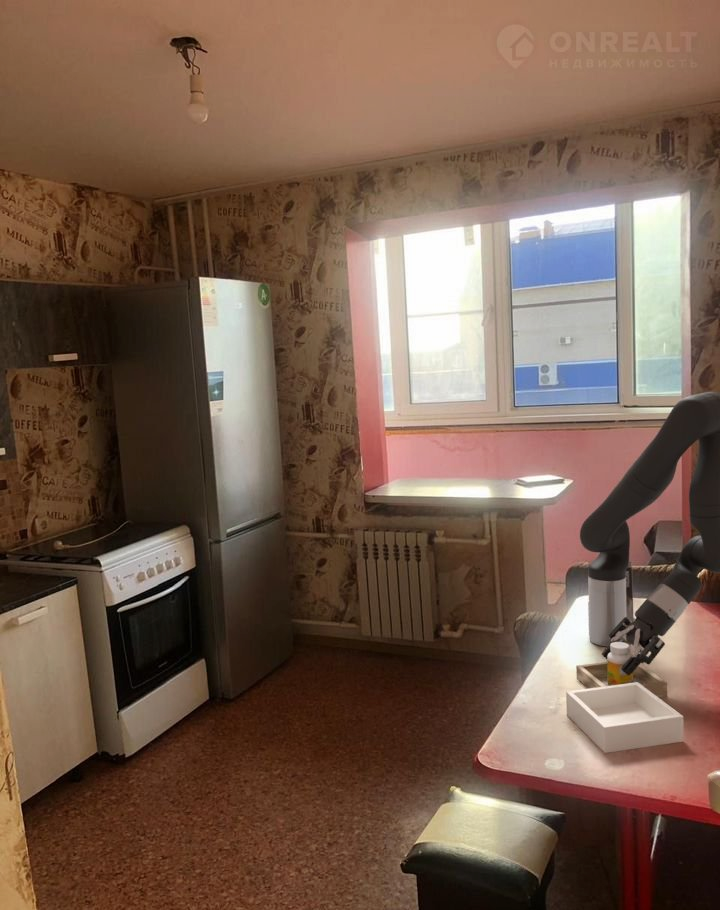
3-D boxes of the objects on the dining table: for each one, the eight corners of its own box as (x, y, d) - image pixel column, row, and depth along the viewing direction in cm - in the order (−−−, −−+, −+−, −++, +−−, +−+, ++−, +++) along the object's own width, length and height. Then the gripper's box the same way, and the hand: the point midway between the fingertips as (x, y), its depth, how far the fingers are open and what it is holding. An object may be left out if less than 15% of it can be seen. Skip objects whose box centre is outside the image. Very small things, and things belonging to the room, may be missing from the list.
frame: (576, 678, 170) (576, 665, 169) (632, 670, 172) (632, 658, 171) (606, 704, 156) (606, 690, 155) (667, 696, 158) (667, 682, 158)
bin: (566, 714, 152) (566, 691, 152) (637, 704, 155) (637, 682, 154) (604, 752, 137) (604, 727, 136) (683, 741, 139) (683, 716, 139)
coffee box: (633, 616, 208) (632, 561, 206) (633, 624, 202) (632, 567, 200) (599, 614, 211) (598, 560, 209) (598, 622, 205) (597, 566, 203)
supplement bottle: (603, 683, 166) (602, 641, 165) (626, 680, 167) (625, 639, 166) (613, 693, 161) (613, 650, 160) (637, 691, 161) (636, 648, 160)
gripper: (633, 590, 170) (588, 643, 169) (669, 609, 156) (619, 667, 155) (654, 610, 171) (609, 663, 171) (691, 630, 157) (643, 688, 157)
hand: (614, 665), depth 163 cm, fingers open, 8 cm apart
